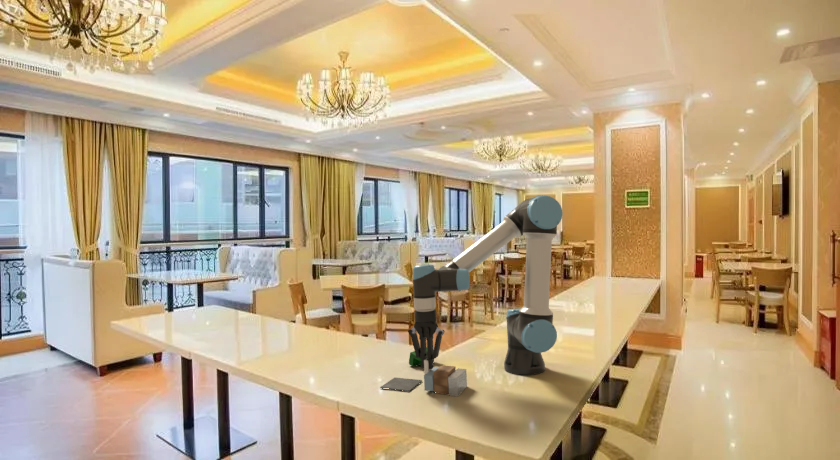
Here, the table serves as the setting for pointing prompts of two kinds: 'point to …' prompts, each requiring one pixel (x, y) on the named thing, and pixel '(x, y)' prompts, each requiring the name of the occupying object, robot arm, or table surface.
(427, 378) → the blue-gray rectangular block
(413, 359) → the clamp
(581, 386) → the table surface
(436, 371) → the block
